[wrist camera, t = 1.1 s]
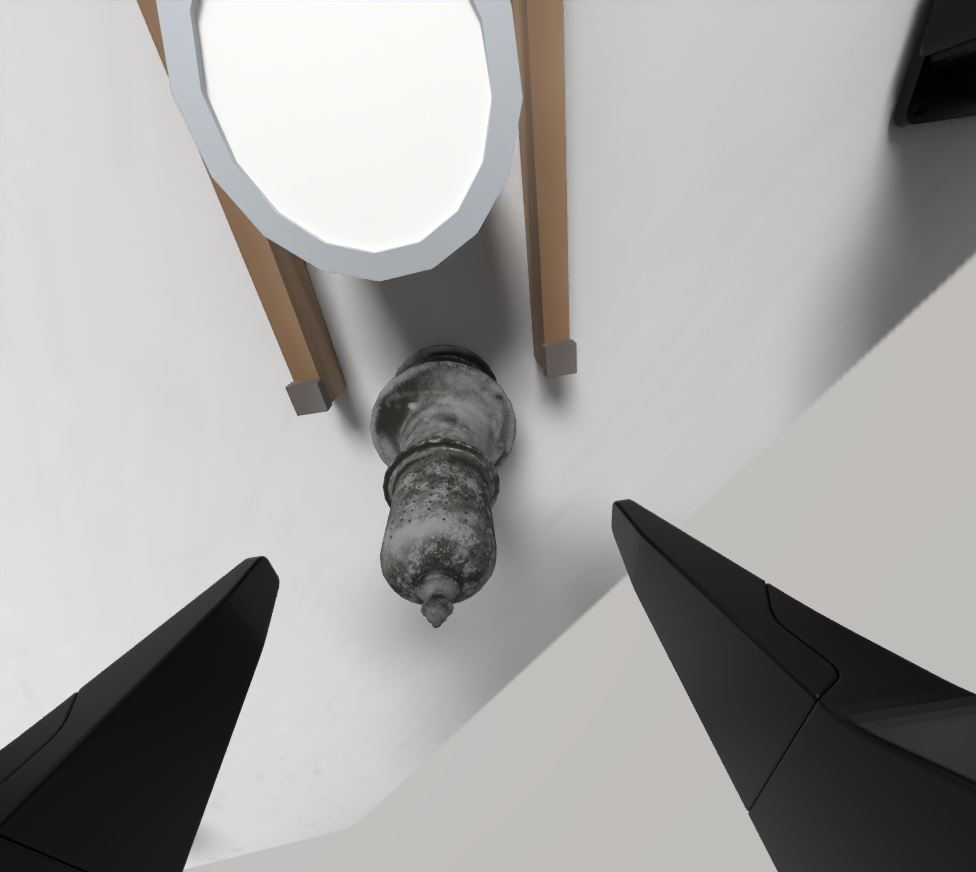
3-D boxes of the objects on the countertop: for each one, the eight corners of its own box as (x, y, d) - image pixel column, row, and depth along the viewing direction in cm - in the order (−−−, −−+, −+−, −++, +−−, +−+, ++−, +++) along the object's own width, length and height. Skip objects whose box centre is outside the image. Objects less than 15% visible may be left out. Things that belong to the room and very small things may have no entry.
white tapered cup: (491, 30, 12) (531, -194, 6) (492, 262, 15) (518, 279, 9) (273, 25, 11) (63, -226, 5) (323, 265, 15) (230, 285, 9)
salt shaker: (511, 439, 19) (581, 679, 9) (402, 457, 19) (342, 721, 9) (497, 328, 16) (575, 487, 6) (369, 349, 16) (220, 547, 6)
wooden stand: (537, -186, 10) (569, -345, 7) (556, 351, 17) (576, 373, 14) (127, -130, 10) (2, -273, 7) (322, 387, 17) (297, 415, 14)
